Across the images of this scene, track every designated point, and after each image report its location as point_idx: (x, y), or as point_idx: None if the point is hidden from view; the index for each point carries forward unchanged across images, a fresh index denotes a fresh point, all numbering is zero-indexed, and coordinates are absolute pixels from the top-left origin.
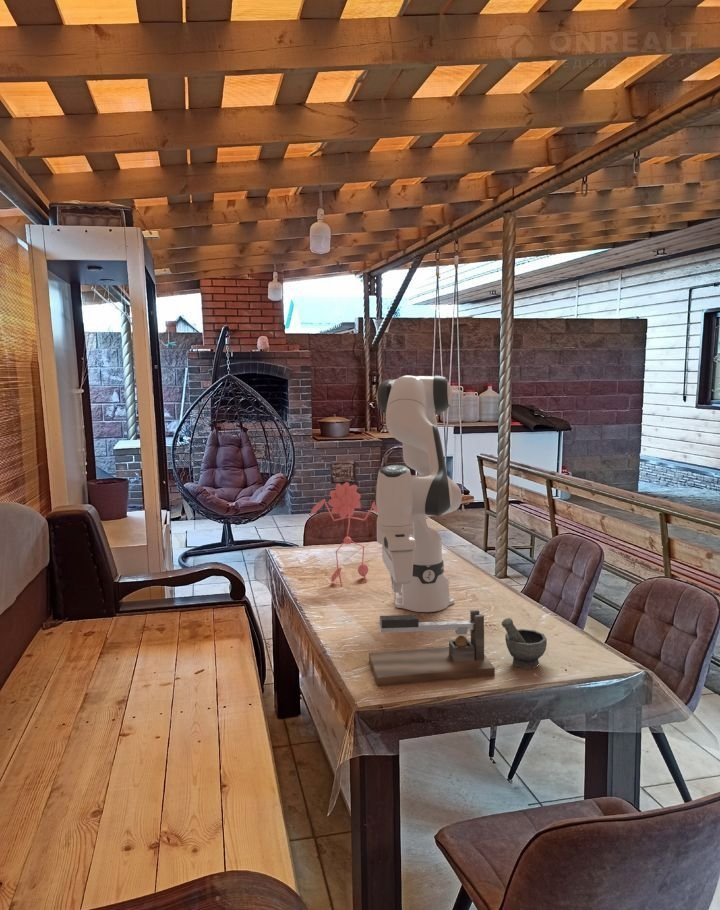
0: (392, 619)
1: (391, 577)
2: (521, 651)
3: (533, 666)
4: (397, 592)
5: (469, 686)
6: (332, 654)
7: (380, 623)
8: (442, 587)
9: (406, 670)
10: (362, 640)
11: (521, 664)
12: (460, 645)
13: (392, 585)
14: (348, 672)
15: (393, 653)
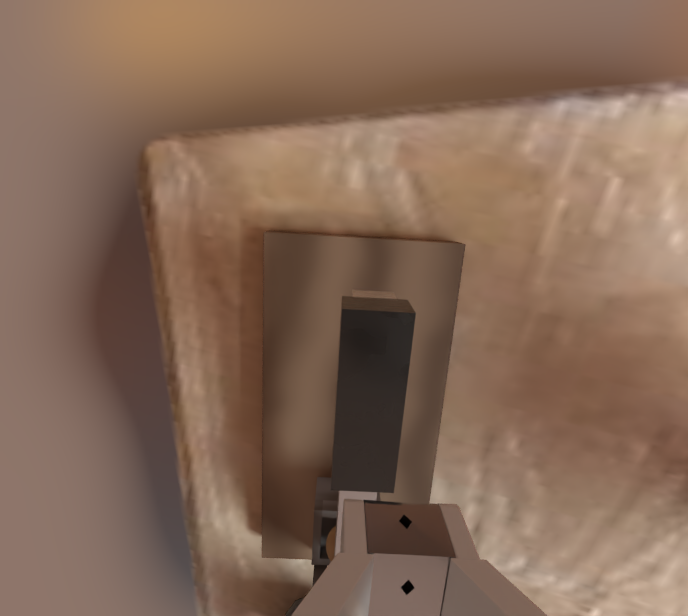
0: (344, 369)
1: (499, 614)
2: None
3: None
4: (342, 519)
5: (221, 467)
6: (554, 118)
7: (378, 301)
8: None
9: (297, 334)
10: (629, 253)
11: (293, 612)
12: (329, 533)
13: (424, 535)
14: (389, 153)
15: (435, 325)
